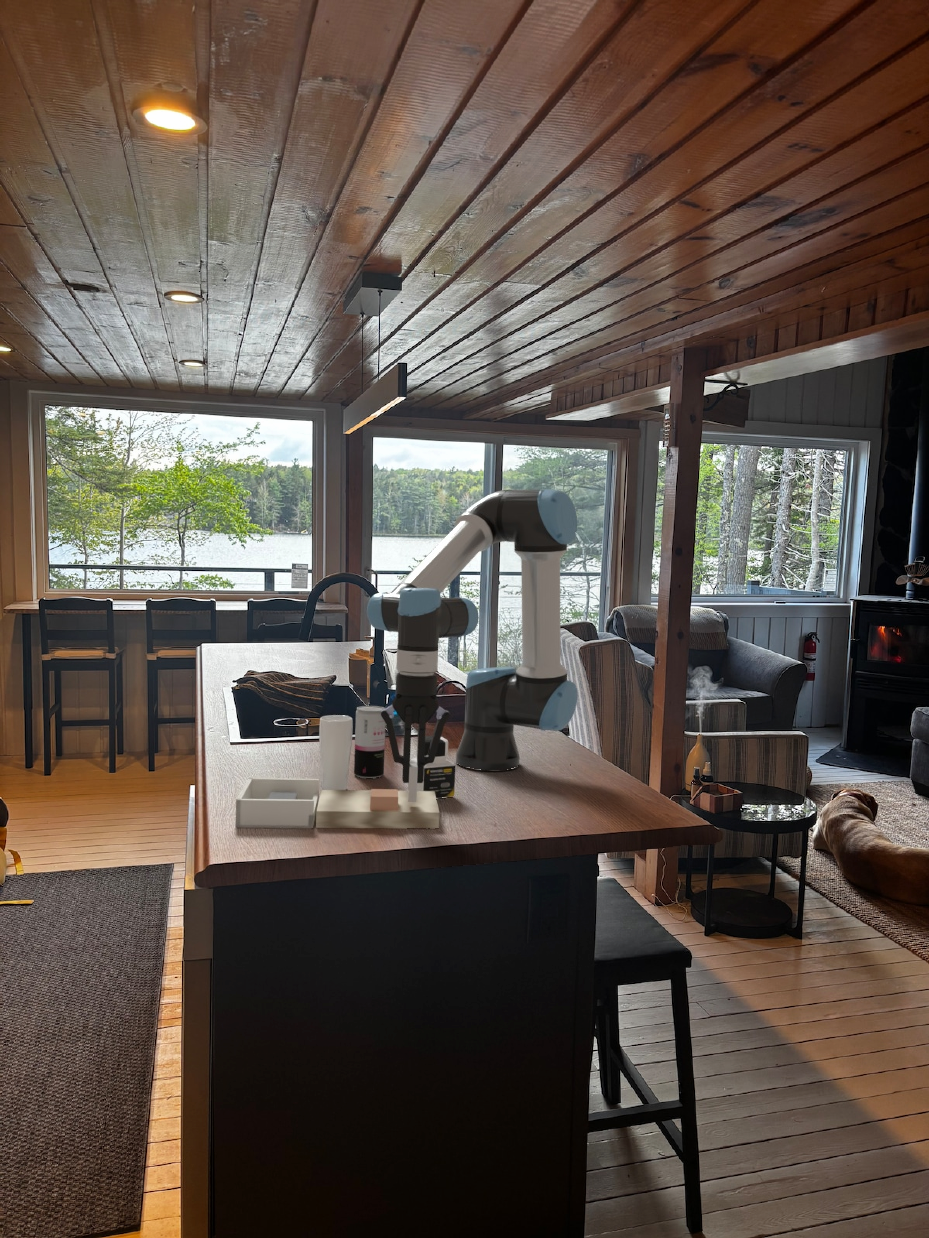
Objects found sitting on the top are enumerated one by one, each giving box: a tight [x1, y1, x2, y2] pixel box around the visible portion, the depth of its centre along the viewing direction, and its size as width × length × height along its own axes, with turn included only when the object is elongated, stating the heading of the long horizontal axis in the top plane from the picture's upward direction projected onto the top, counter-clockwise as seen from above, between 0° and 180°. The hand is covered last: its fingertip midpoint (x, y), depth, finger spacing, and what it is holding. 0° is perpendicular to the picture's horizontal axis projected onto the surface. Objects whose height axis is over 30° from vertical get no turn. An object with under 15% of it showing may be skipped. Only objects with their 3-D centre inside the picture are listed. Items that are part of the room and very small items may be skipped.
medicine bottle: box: [410, 735, 456, 798], centre depth 180 cm, size 7×7×12 cm
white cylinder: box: [318, 714, 354, 790], centre depth 181 cm, size 7×7×15 cm
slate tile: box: [268, 792, 297, 799], centre depth 165 cm, size 5×5×2 cm
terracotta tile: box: [370, 788, 399, 810], centre depth 161 cm, size 5×5×2 cm
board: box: [315, 789, 440, 830], centre depth 164 cm, size 22×14×3 cm, turn 96°
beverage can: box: [353, 705, 386, 779], centre depth 193 cm, size 6×6×15 cm
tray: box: [235, 777, 320, 829], centre depth 162 cm, size 14×15×5 cm
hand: (412, 799), depth 161 cm, fingers closed
